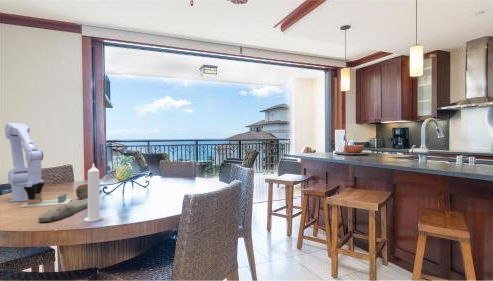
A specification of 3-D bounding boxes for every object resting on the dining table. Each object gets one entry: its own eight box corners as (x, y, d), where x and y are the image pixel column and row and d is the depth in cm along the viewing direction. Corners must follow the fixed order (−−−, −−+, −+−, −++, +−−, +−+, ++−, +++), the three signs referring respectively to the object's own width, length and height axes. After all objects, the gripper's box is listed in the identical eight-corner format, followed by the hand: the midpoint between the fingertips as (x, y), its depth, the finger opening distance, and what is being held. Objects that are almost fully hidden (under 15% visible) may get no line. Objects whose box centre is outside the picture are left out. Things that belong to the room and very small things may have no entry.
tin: (79, 200, 155) (79, 185, 155) (74, 200, 156) (74, 185, 156) (98, 194, 170) (98, 181, 170) (94, 194, 171) (94, 181, 170)
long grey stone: (100, 206, 149) (82, 207, 149) (100, 196, 149) (82, 197, 149) (54, 223, 114) (31, 224, 114) (54, 210, 114) (30, 211, 114)
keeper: (30, 202, 147) (30, 193, 147) (41, 201, 148) (41, 193, 148) (27, 203, 143) (27, 195, 143) (38, 203, 145) (38, 194, 145)
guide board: (29, 202, 150) (29, 194, 150) (73, 199, 157) (73, 192, 157) (19, 207, 139) (19, 199, 138) (67, 204, 146) (67, 196, 146)
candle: (89, 217, 123) (89, 162, 123) (105, 217, 124) (105, 162, 123) (81, 222, 116) (81, 163, 116) (98, 221, 117) (98, 164, 116)
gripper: (38, 174, 140) (38, 200, 140) (48, 171, 154) (48, 194, 154) (21, 174, 138) (21, 201, 138) (33, 171, 151) (33, 195, 151)
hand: (34, 198), depth 146 cm, fingers open, 7 cm apart
